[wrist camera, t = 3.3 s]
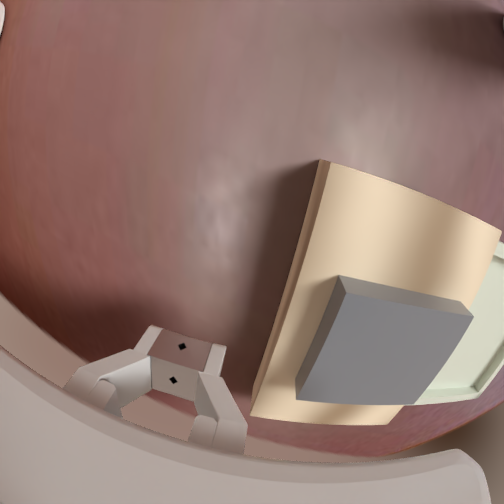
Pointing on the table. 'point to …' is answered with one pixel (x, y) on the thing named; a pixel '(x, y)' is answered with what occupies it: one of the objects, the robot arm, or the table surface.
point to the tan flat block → (364, 275)
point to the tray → (475, 344)
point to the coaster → (379, 344)
